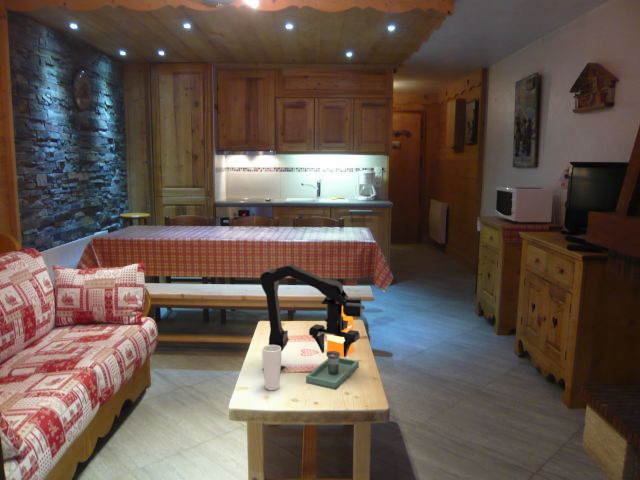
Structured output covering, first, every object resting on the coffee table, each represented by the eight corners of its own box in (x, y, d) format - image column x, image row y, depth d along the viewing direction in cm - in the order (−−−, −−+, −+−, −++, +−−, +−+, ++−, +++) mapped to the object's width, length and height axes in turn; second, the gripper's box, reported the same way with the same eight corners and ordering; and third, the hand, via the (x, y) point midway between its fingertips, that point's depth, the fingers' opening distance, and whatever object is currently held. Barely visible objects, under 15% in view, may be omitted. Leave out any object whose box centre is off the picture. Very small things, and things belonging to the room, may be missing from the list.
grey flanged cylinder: (336, 376, 192) (336, 356, 191) (324, 374, 195) (324, 354, 193) (342, 371, 197) (342, 351, 196) (330, 369, 199) (330, 349, 198)
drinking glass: (260, 385, 187) (260, 345, 184) (278, 382, 189) (278, 343, 187) (265, 393, 180) (264, 352, 178) (283, 390, 183) (283, 350, 180)
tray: (335, 389, 184) (335, 382, 183) (305, 382, 189) (305, 376, 188) (358, 367, 203) (358, 361, 203) (331, 361, 208) (331, 355, 208)
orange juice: (353, 350, 220) (353, 305, 217) (342, 357, 213) (342, 311, 209) (337, 346, 224) (338, 302, 221) (326, 353, 217) (326, 307, 214)
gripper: (365, 312, 195) (364, 351, 198) (321, 306, 203) (321, 343, 206) (354, 321, 185) (353, 362, 188) (308, 314, 193) (308, 353, 196)
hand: (333, 354), depth 195 cm, fingers open, 9 cm apart
